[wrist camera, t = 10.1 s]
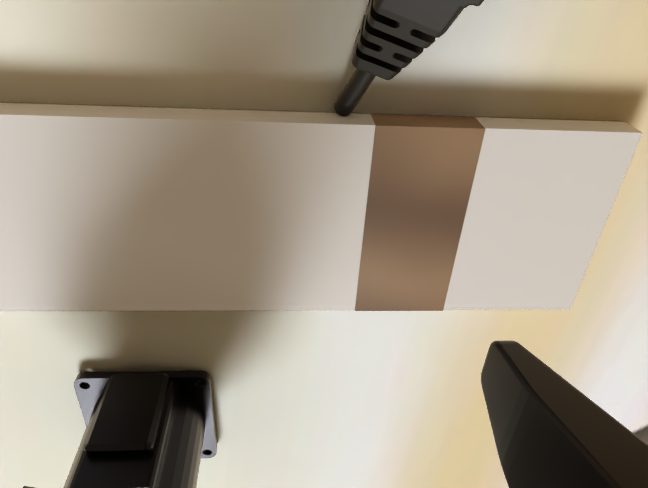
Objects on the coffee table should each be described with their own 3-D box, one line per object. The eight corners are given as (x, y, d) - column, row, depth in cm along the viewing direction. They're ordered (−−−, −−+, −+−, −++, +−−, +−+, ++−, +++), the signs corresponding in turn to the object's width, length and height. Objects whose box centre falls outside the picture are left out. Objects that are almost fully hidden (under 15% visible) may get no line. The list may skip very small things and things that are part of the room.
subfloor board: (558, 293, 25) (570, 310, 24) (-61, 293, 22) (-78, 311, 21) (624, 121, 20) (642, 133, 19) (-149, 98, 18) (-176, 110, 16)
